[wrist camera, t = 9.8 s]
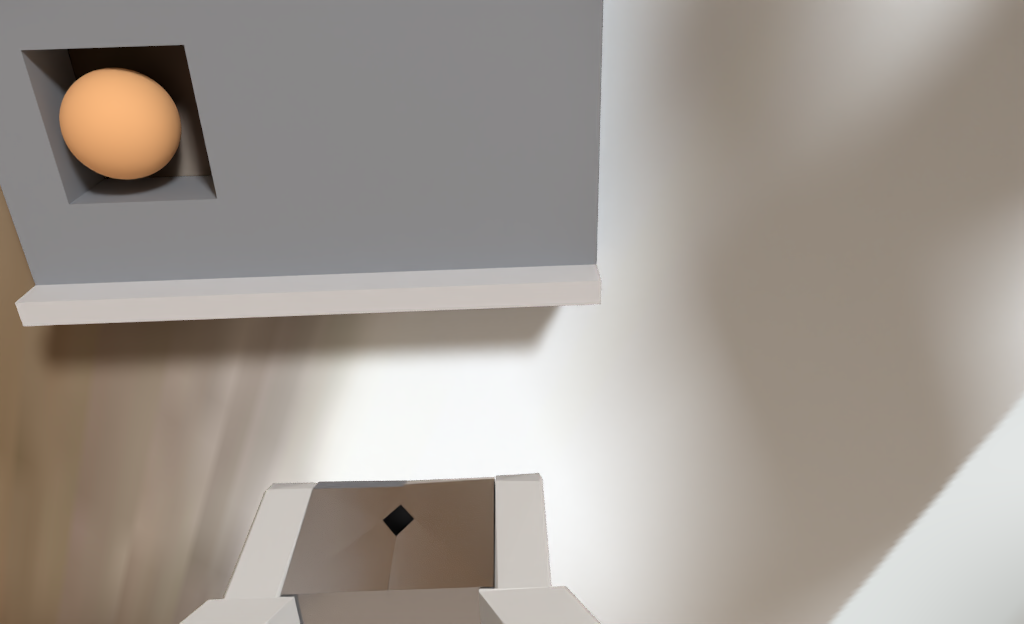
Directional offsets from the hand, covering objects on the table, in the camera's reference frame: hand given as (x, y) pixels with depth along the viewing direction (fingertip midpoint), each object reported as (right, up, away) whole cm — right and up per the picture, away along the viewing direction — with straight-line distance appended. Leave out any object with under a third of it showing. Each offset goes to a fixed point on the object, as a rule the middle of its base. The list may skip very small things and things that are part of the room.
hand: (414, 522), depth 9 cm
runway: (-7, +11, +21) cm, 25 cm away
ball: (-13, +9, +20) cm, 25 cm away
